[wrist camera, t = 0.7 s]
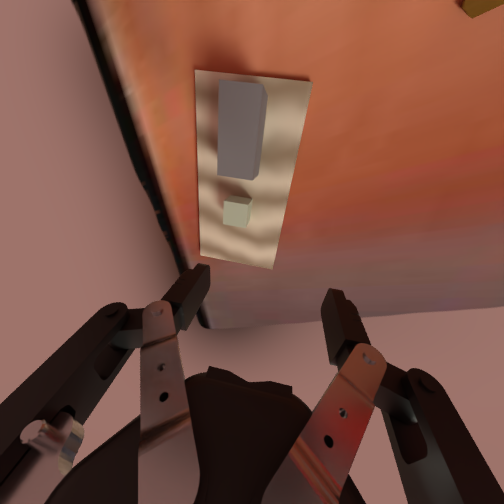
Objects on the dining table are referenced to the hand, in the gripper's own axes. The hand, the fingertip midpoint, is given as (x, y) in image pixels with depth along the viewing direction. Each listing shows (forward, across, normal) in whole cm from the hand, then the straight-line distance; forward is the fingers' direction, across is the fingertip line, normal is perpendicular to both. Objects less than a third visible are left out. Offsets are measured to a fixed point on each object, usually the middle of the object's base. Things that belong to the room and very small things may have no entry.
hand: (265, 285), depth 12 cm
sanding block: (+23, +7, -8) cm, 25 cm away
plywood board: (+24, +7, 0) cm, 25 cm away
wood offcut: (+22, +7, +3) cm, 24 cm away
